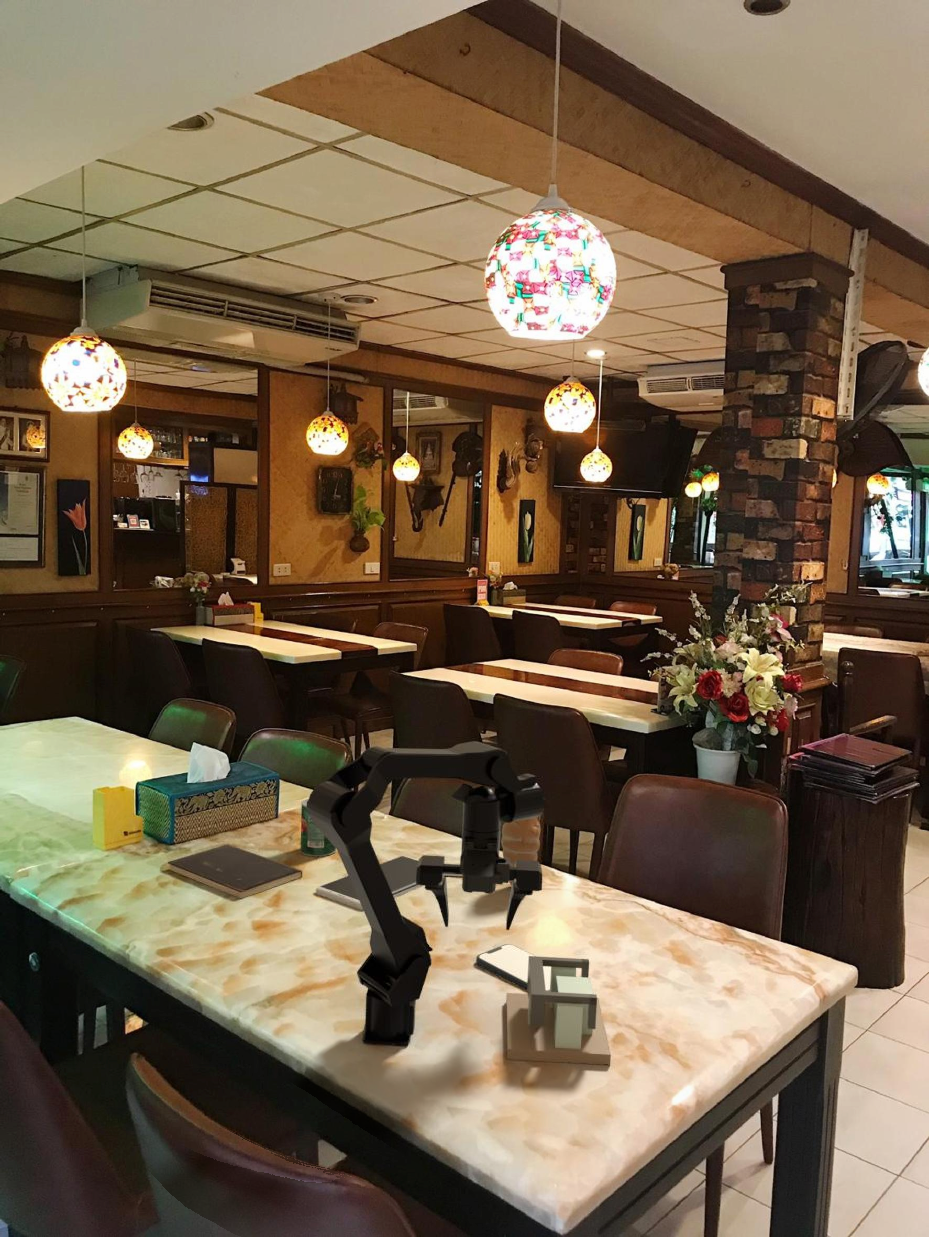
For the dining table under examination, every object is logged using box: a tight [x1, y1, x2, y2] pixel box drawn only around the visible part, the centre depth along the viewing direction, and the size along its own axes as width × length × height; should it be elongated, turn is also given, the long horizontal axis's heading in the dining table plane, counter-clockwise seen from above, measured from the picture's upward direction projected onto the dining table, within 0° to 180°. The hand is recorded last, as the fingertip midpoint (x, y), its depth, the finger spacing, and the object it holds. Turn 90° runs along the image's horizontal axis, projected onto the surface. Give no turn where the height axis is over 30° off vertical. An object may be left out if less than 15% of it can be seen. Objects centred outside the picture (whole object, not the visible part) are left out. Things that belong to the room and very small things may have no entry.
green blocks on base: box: [505, 967, 612, 1066], centre depth 138 cm, size 14×16×8 cm
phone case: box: [475, 943, 551, 992], centre depth 157 cm, size 9×2×16 cm
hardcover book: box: [167, 843, 303, 899], centre depth 196 cm, size 16×23×2 cm
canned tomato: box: [299, 798, 337, 858], centre depth 211 cm, size 8×8×11 cm
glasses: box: [527, 955, 598, 1029], centre depth 138 cm, size 9×12×4 cm
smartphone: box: [315, 855, 425, 911], centre depth 194 cm, size 13×27×2 cm, turn 143°
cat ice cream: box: [500, 816, 541, 886], centre depth 193 cm, size 9×8×18 cm
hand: (477, 927), depth 145 cm, fingers open, 9 cm apart
